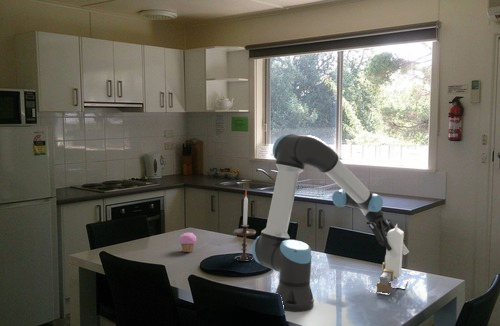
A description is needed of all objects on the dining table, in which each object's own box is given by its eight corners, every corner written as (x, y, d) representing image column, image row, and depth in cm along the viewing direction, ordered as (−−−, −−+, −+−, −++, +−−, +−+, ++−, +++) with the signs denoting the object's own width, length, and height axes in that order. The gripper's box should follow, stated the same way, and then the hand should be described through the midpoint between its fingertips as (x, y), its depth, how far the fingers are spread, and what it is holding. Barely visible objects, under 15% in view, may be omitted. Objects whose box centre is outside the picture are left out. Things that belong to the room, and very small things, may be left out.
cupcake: (197, 250, 256) (198, 231, 255) (194, 254, 247) (194, 235, 247) (181, 249, 257) (181, 230, 256) (176, 253, 248) (177, 234, 247)
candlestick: (252, 263, 235) (255, 191, 232) (230, 261, 238) (232, 190, 234) (256, 257, 246) (259, 188, 243) (235, 255, 248) (237, 187, 245)
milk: (384, 275, 212) (387, 225, 210) (387, 271, 217) (390, 222, 215) (399, 277, 209) (402, 227, 207) (401, 273, 215) (404, 224, 213)
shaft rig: (403, 298, 195) (404, 279, 195) (372, 293, 200) (373, 274, 199) (409, 274, 227) (410, 257, 226) (382, 270, 231) (383, 254, 231)
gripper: (379, 213, 229) (408, 255, 219) (352, 218, 216) (381, 263, 205) (390, 204, 225) (420, 246, 214) (363, 209, 211) (393, 254, 201)
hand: (401, 255), depth 210 cm, fingers closed on milk, 8 cm apart
